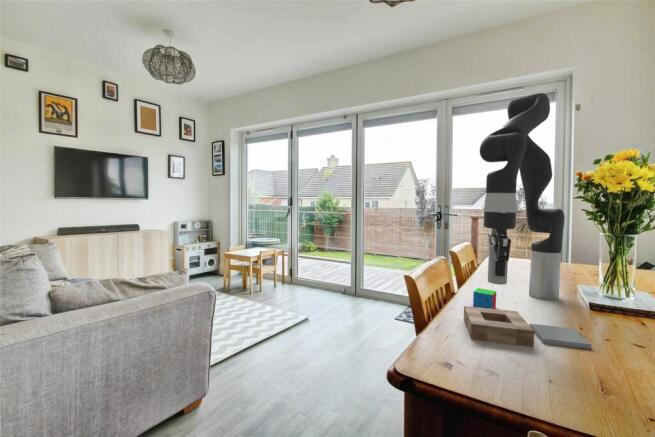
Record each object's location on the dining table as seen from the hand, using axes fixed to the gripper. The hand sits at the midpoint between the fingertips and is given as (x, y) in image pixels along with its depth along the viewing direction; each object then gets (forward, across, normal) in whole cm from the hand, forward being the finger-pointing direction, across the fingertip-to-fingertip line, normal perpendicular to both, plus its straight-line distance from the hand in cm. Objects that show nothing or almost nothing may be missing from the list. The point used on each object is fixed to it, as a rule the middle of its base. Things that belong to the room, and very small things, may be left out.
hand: (497, 273), depth 83 cm
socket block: (+16, 0, 0) cm, 16 cm away
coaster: (+16, -1, +15) cm, 22 cm away
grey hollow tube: (+3, 0, 0) cm, 3 cm away
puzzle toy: (+16, -20, +1) cm, 26 cm away
